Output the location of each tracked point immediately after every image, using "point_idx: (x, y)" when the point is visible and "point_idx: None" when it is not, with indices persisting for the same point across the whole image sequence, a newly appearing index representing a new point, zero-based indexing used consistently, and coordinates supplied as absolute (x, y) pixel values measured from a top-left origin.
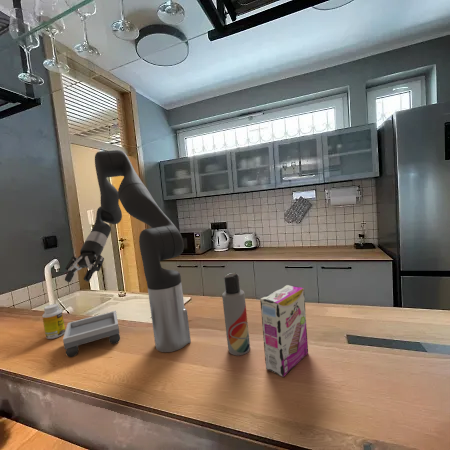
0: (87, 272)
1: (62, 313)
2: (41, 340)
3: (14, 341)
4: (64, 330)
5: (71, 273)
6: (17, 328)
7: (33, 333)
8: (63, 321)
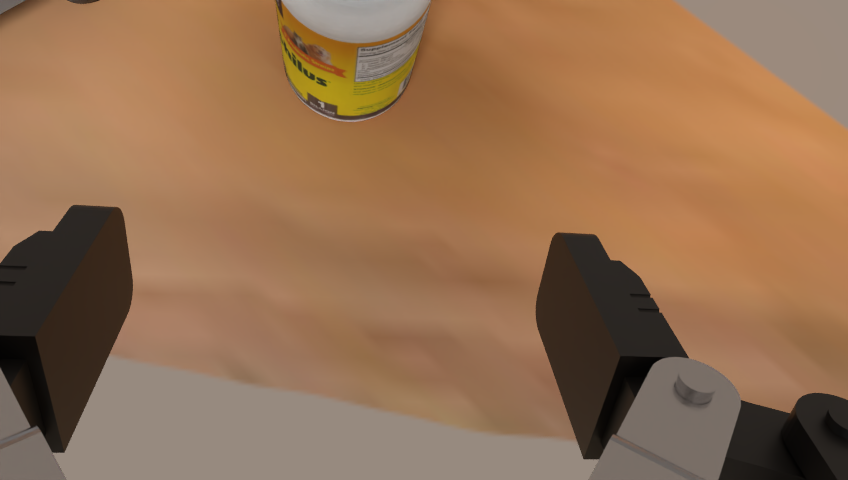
0: (26, 291)
1: (289, 19)
2: None
3: (610, 7)
4: (288, 77)
5: (592, 374)
6: (814, 185)
7: (580, 105)
8: (288, 50)
